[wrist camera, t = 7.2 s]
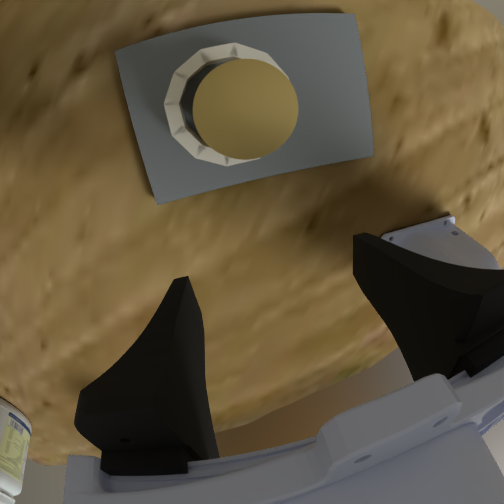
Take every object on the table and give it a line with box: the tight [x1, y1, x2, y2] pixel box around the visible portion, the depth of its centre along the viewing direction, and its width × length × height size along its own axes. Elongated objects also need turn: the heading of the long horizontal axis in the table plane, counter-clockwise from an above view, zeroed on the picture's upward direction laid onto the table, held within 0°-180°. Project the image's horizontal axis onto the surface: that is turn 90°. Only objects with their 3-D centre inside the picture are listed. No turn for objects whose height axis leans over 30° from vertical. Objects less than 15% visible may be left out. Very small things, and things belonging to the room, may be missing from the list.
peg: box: [193, 59, 298, 160], centre depth 14 cm, size 4×4×8 cm
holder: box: [115, 13, 374, 205], centre depth 17 cm, size 16×11×4 cm
